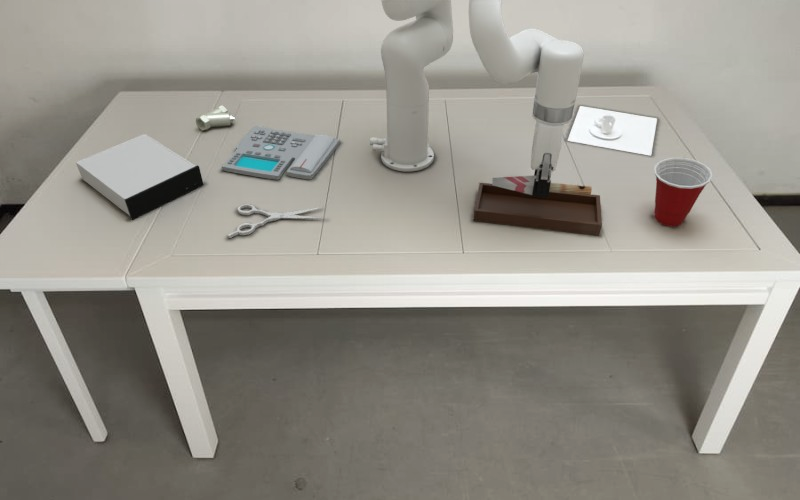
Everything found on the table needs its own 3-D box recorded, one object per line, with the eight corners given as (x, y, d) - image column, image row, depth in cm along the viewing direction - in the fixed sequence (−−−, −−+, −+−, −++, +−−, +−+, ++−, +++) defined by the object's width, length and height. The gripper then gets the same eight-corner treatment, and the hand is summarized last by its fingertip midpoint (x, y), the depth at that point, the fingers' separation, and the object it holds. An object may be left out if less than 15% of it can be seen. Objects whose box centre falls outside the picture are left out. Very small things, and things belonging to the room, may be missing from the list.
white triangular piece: (592, 121, 166) (595, 107, 164) (623, 126, 164) (627, 112, 161) (586, 137, 160) (590, 122, 157) (619, 142, 158) (623, 128, 155)
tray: (473, 221, 133) (474, 210, 131) (478, 192, 141) (479, 182, 139) (599, 235, 129) (602, 225, 127) (597, 206, 137) (600, 195, 135)
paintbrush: (493, 170, 132) (591, 180, 130) (491, 181, 134) (588, 191, 132) (493, 180, 129) (593, 191, 128) (491, 191, 131) (590, 202, 129)
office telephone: (340, 133, 157) (309, 176, 142) (340, 143, 158) (310, 186, 144) (253, 120, 161) (215, 160, 146) (254, 129, 163) (217, 170, 148)
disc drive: (132, 220, 134) (126, 200, 131) (81, 180, 145) (74, 161, 142) (204, 185, 144) (199, 166, 141) (150, 150, 155) (145, 132, 152)
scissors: (230, 205, 136) (324, 196, 138) (231, 208, 137) (324, 199, 139) (227, 235, 128) (327, 226, 130) (228, 238, 129) (327, 229, 131)
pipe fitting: (238, 124, 166) (219, 116, 169) (236, 111, 164) (217, 102, 166) (216, 137, 161) (197, 128, 164) (214, 123, 159) (194, 115, 161)
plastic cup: (634, 203, 138) (648, 155, 130) (685, 203, 138) (701, 155, 130) (648, 234, 130) (663, 184, 122) (702, 235, 129) (720, 185, 122)
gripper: (534, 88, 127) (524, 167, 138) (531, 128, 114) (519, 211, 126) (573, 91, 125) (559, 170, 137) (574, 132, 113) (558, 215, 124)
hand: (540, 189), depth 131 cm, fingers closed on paintbrush, 3 cm apart
